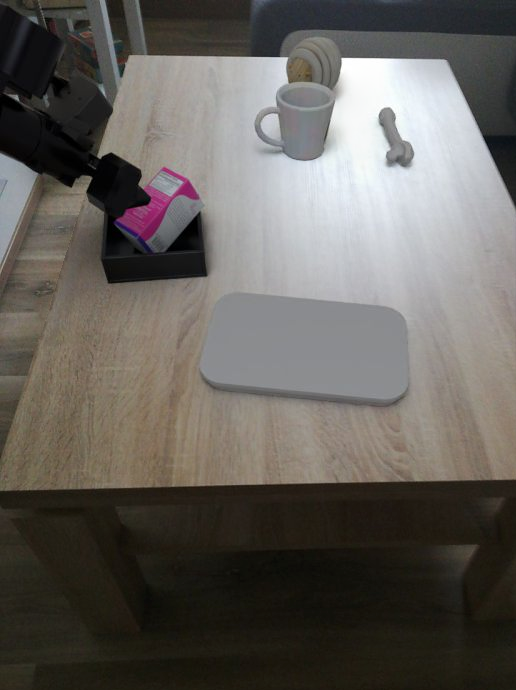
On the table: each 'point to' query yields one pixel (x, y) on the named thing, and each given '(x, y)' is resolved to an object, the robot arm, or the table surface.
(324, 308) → the tablet
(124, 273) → the black open box
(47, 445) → the table surface
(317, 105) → the mug
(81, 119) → the robot arm
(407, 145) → the bone
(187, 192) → the supplement box
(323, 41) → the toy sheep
